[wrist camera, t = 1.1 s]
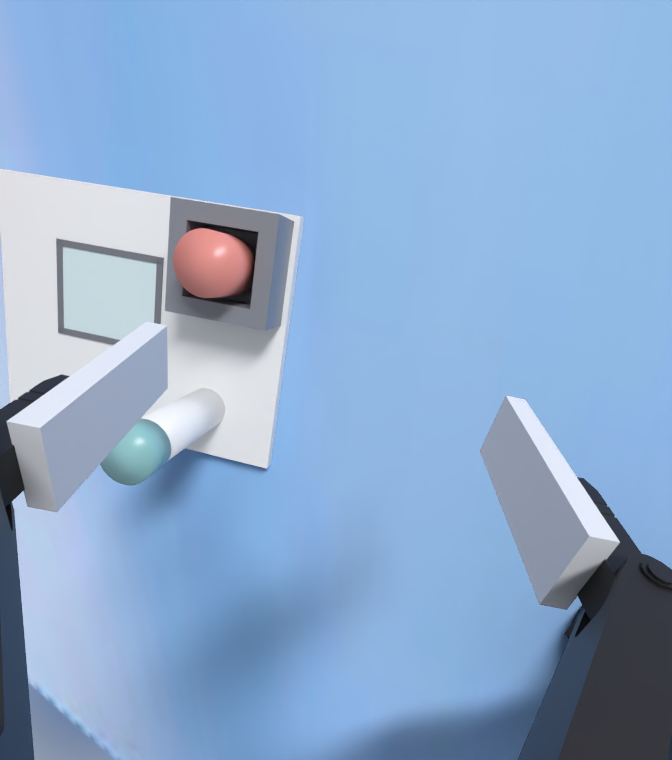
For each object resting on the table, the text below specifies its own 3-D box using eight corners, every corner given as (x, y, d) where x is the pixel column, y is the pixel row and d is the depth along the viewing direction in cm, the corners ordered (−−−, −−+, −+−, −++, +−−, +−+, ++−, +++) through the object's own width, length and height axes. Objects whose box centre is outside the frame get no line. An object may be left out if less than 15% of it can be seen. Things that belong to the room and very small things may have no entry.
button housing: (280, 325, 37) (265, 330, 33) (189, 307, 38) (164, 310, 34) (294, 221, 34) (279, 214, 30) (196, 205, 35) (170, 196, 32)
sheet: (271, 463, 42) (266, 469, 40) (20, 401, 46) (8, 405, 44) (304, 218, 35) (300, 215, 34) (9, 171, 39) (-5, 167, 38)
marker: (224, 431, 40) (149, 491, 29) (185, 422, 41) (97, 477, 29) (228, 391, 39) (151, 437, 28) (188, 383, 40) (97, 424, 28)
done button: (254, 300, 34) (232, 303, 30) (200, 290, 35) (171, 291, 31) (261, 239, 33) (238, 234, 29) (204, 230, 34) (175, 223, 30)
